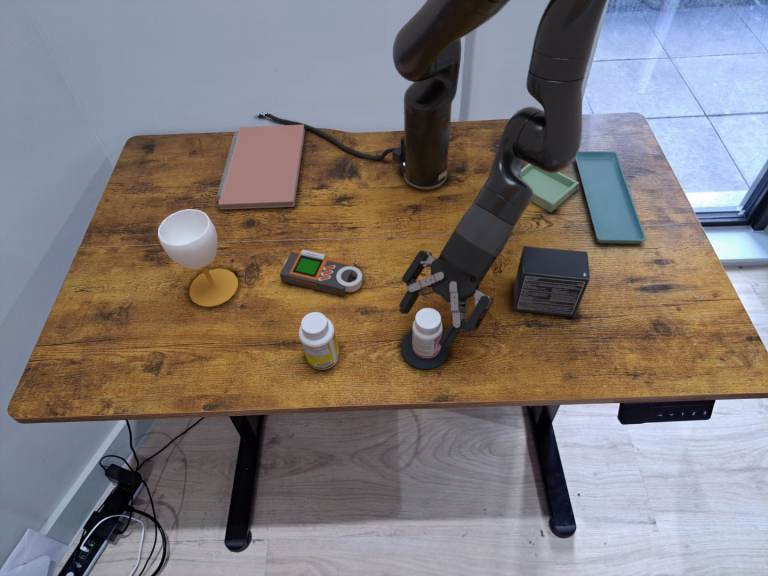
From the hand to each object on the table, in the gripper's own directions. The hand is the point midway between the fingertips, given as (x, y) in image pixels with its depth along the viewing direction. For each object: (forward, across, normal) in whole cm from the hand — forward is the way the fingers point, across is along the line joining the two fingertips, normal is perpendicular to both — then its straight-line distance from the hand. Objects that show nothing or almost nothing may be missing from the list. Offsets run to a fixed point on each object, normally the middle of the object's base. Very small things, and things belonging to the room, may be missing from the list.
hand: (422, 328), depth 80 cm
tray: (-28, -9, +37) cm, 48 cm away
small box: (-11, +8, +21) cm, 25 cm away
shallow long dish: (-32, +2, +42) cm, 53 cm away
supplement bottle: (+14, -11, -4) cm, 18 cm away
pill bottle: (+4, 0, +5) cm, 6 cm away
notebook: (-2, -59, +11) cm, 60 cm away
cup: (+17, -37, -8) cm, 41 cm away
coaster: (+4, 0, +5) cm, 6 cm away
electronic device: (+6, -24, +4) cm, 25 cm away
